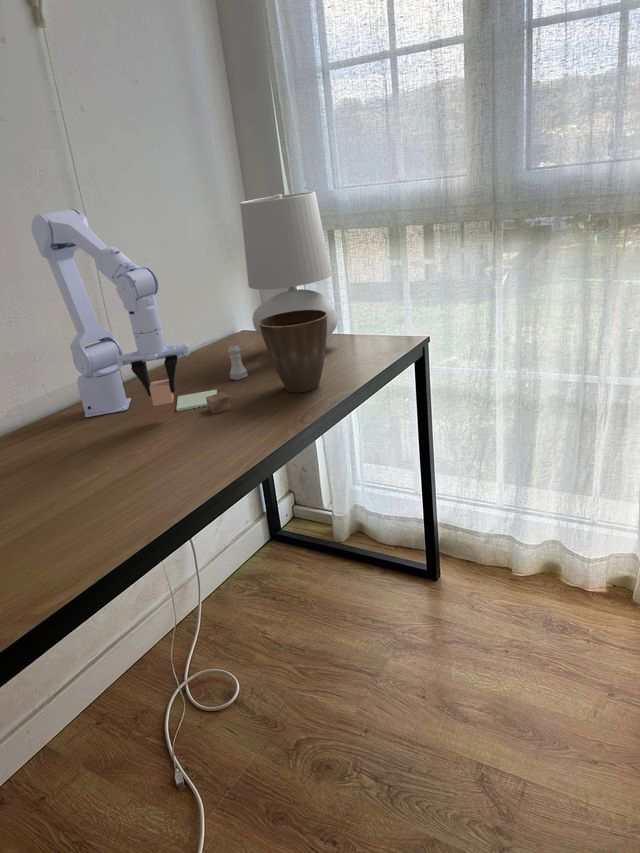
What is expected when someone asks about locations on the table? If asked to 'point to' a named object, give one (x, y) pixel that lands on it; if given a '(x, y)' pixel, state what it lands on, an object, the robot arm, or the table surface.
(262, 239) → the table lamp
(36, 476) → the table surface
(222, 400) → the walnut brick
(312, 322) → the plant pot
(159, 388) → the terracotta brick
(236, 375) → the rook chess piece
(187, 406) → the base tile
